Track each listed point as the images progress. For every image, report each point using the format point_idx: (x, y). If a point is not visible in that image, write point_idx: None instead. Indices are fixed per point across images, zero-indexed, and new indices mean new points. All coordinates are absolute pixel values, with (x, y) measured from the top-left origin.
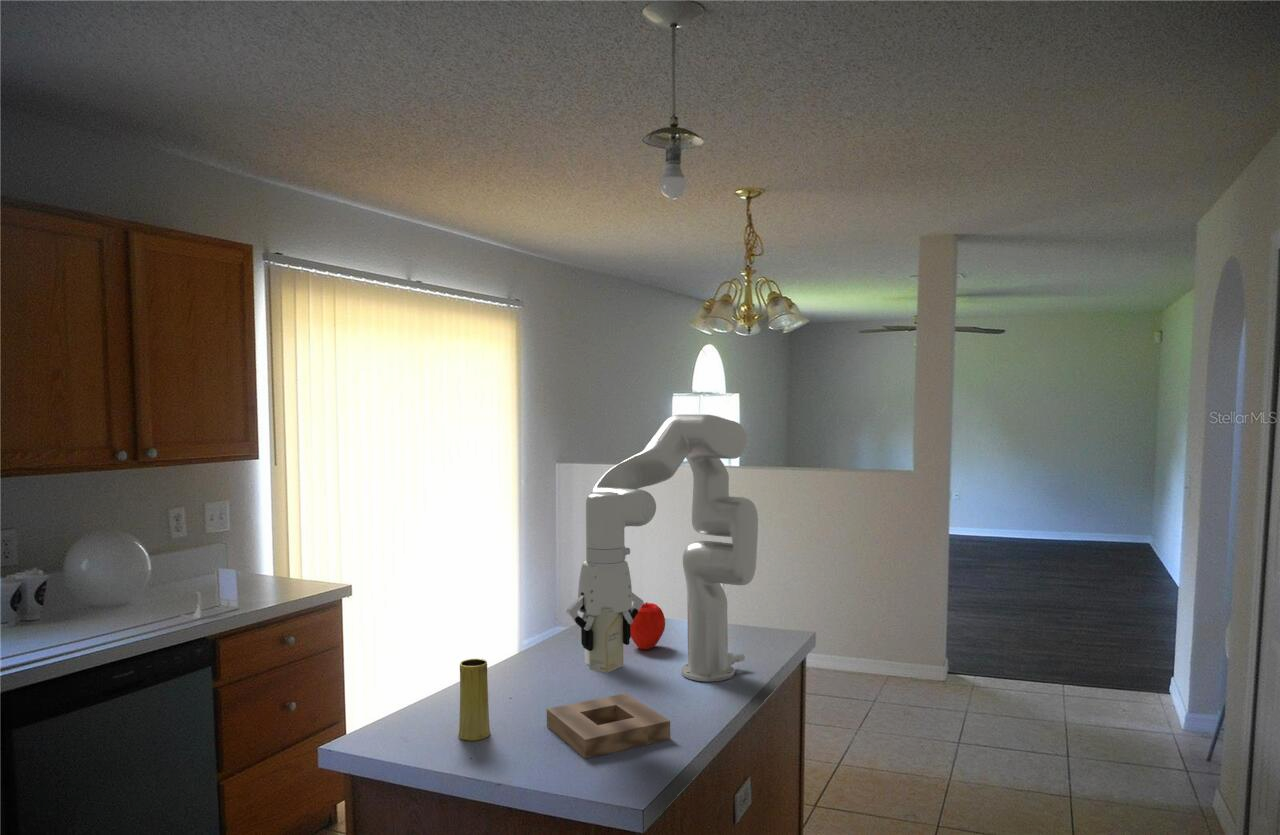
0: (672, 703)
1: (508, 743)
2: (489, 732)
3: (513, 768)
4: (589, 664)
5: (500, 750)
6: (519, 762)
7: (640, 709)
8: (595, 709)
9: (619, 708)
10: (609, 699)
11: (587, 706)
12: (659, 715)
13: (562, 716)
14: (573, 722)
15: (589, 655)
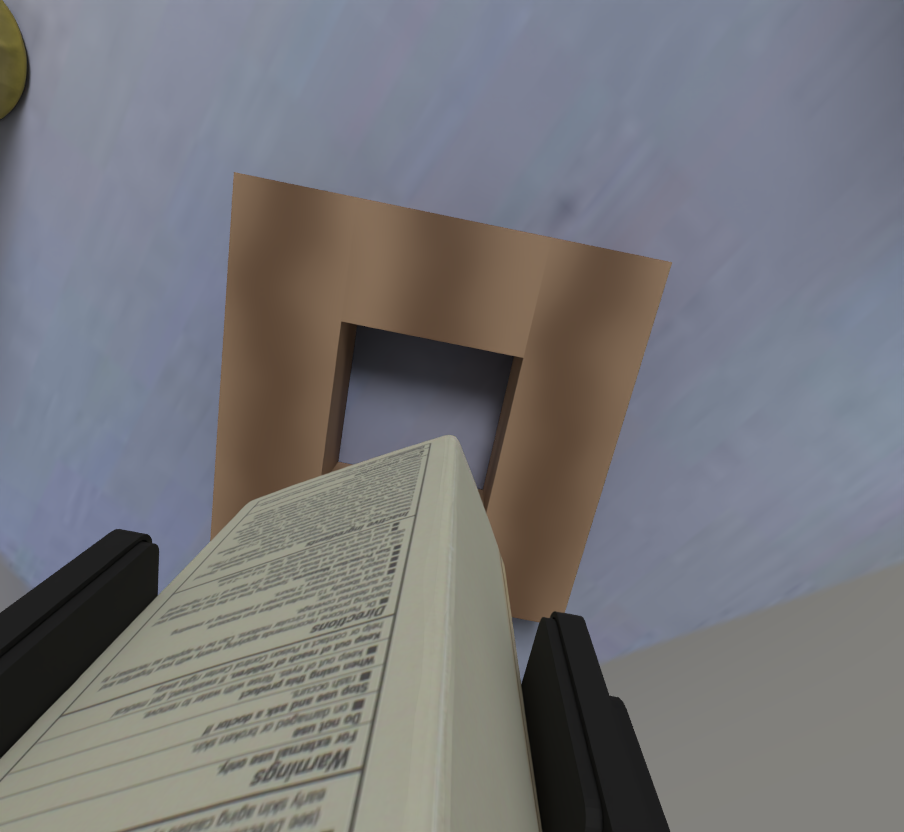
0: (841, 340)
1: (65, 237)
2: (10, 96)
3: (13, 435)
4: (231, 520)
5: (17, 276)
6: (46, 409)
7: (562, 473)
8: (420, 336)
9: (514, 391)
10: (549, 279)
11: (409, 284)
12: (571, 566)
13: (249, 313)
14: (255, 401)
15: (195, 558)
